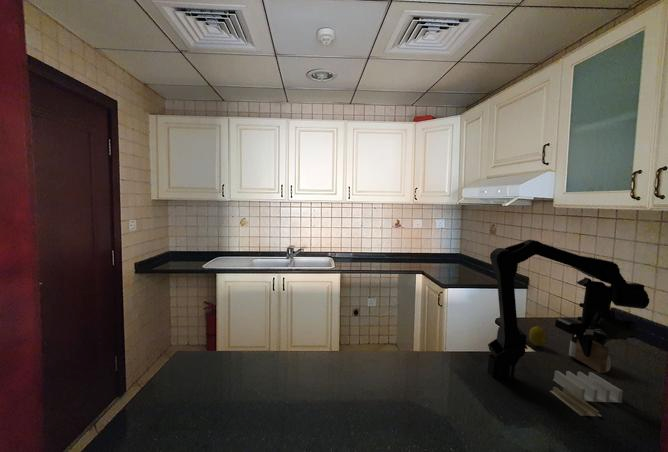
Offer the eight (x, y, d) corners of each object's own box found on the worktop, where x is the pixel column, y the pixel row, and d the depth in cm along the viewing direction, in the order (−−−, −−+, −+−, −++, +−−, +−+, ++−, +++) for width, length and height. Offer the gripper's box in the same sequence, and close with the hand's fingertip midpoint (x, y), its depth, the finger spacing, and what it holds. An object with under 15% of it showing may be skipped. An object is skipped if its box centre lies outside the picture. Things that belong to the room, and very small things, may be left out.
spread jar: (570, 352, 112) (573, 322, 112) (610, 364, 104) (615, 332, 104) (565, 362, 104) (569, 329, 103) (609, 376, 96) (613, 341, 95)
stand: (580, 418, 74) (581, 410, 74) (549, 393, 84) (550, 386, 84) (601, 419, 74) (602, 411, 74) (568, 394, 84) (568, 387, 84)
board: (599, 372, 81) (603, 347, 80) (574, 357, 89) (577, 335, 88) (605, 373, 81) (608, 348, 80) (579, 358, 89) (582, 335, 88)
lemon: (547, 350, 112) (550, 329, 112) (531, 348, 113) (534, 327, 113) (540, 344, 118) (543, 324, 117) (525, 341, 119) (527, 322, 118)
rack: (581, 403, 80) (582, 390, 80) (552, 381, 90) (553, 369, 90) (622, 405, 81) (624, 391, 80) (589, 383, 91) (591, 371, 90)
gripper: (591, 311, 75) (584, 370, 76) (660, 315, 76) (651, 373, 77) (556, 297, 86) (550, 349, 87) (617, 301, 87) (610, 352, 88)
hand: (589, 356), depth 85 cm, fingers closed on board, 2 cm apart
